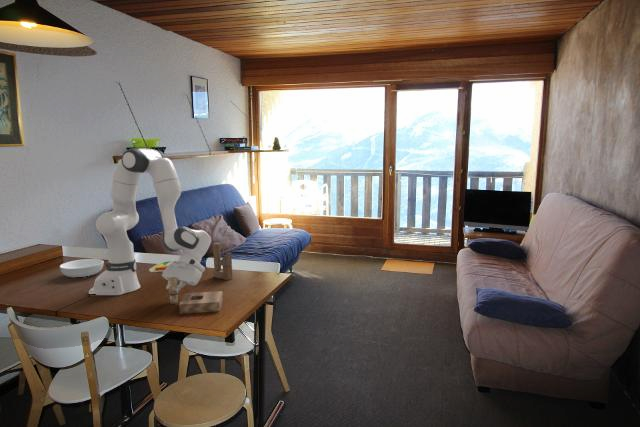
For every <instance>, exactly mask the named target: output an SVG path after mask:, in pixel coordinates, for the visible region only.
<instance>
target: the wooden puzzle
mask: <svg viewBox="0 0 640 427" xmlns="http://www.w3.org/2000/svg"><path fill="white" fill-rule="evenodd" d="M174 261H175V260H173V261H165V262H164V261H161V262H159V263H156V265H153V266H152V267H150V268H149V269H148V272H149V273H163V272H164V270H165V269H166V268H167V266H168V265H169V264H170V263H172V262H174Z"/></svg>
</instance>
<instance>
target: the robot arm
mask: <svg viewBox="0 0 640 427" xmlns="http://www.w3.org/2000/svg"><path fill="white" fill-rule="evenodd" d="M145 173H147V174H149V175H150V176H151V179H152V183H153V187H154V191H155V193H156V194H155V195H156V199H157V205H158V210H159V214H160V219H161V220H160V221H161V224H162V230H163V231H162V238H161V239H162V246H164V248H165V249H166V250H167V251H169V252H173V253H174V252H178V251H180V250H182V251H183V252H182V253H181V256H180V257H179V259H178V260H173V261H174V262H172V261H171V262H172V263H170V264H169V265H168V266H167V268H166V269H165V270H164V272H161V277H162V278H163V279H165V280H167V281H168V278H171V277H176V278H177V283H179V284H177V287H175V289H174V291H176V292H178V293H179V292H180V290H181V289H182V288H184V287H185V286H186V285H188V286H193V287H194V286H196V285H197V284H198V283H199V281H200V280H201V278H202V276H203V273H204V272H206V271H205V270H206V268H205V266H203V265H202V264H201V262H202V258H203V257H204V256H205V255H206V253H207V251H208V250H209V248H210V246H211V244H212V237H211V235H210V234H209V233H208V232H206V231H205V230H203V229H192V228H190V227H188V226H179V227H178V224H177V219H176V213H175V207H176V204H177V201H178V200H179V199H180V197H181V196H182V195H181V194H182V188H181V187H182V186H181V181H180V179H179V175H178V173H177V170H176V168H175V165H174V163H173V161H172V160H171V159H169V158H167V157H166V155H165V153H164V152H162V151H161V150H158V149H156V148H153V149H152V148H146V147H144V148H143V147H142V148H137V147H135V148H129V149H126V150H125V151H124V152H123V153H122V156H121V159H119V160H118V161H117V163H116V166H115V169H114V173H113V175H112V181H111V187H110V193H109V196H110V198H111V199H112V200H111V201H112V203H113V204H112V205H113V208H112V210H110V211H107V212H104V213H102V214H101V215H99V217H98V218H97V219H96V220H95V221H96V222H95V227H96V230H97V232H99V234H101V235H102V237H103V239H104V240H105V244H106V245H107V246H106V247H107V252H108V260H107V261H106V263H105V264H103V267H104V268H105V270H104V271H103V272H101V273H100V274H99V275H98V276H97V277H96V278H95V280H94V282H93V287H91V288H90V290H88V295H89V294H96V295H95V296H121V295H123V294H127V293H131V292H136V291H138V290H139V289H140V288H141V284H140V281H139V278H138V275H137V262H136V259H135V251H134V250H135V249H134V243H133V242H132V241H131V240H130V238H129V236H128V233H127V231H129V230H131V229H133V228H135V226H136V225H137V224H138V223H139V222H140V221H139V220H140V216H139V213H138V211H137V208H136V207H137V206H136V198H137V193H138V187H139V182H140V181H139V180H140V177H141V174H145ZM165 288H166V290H168V291H169V289H168V284H167V285H166V287H165Z"/></svg>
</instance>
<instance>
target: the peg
mask: <svg viewBox="0 0 640 427" xmlns="http://www.w3.org/2000/svg"><path fill="white" fill-rule="evenodd" d="M167 285H168V289H169V290H168V289H167V290H168V295H169V301H170V302H169V303H170V305H176V304H178V303H179V300H178V298H179V297H178V295H179V292H176V291H174V289H175V287H177V286H178V282H177V278H176V277H171V278H168V280H167Z"/></svg>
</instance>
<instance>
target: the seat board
mask: <svg viewBox="0 0 640 427" xmlns="http://www.w3.org/2000/svg"><path fill="white" fill-rule="evenodd" d="M222 304H223V291H222V290H218V291H216V290H215V291H202V292H201V291H200V292H199V291H198V292H186V293H184V294H183V296H182V298H181V300H180V302H179V304H178V306H179V308H178V309H179V314H180V315H181V314H182V315H183V314H195V313H196V314H198V313H199V314H200V313H211V312H221V308H222Z"/></svg>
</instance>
